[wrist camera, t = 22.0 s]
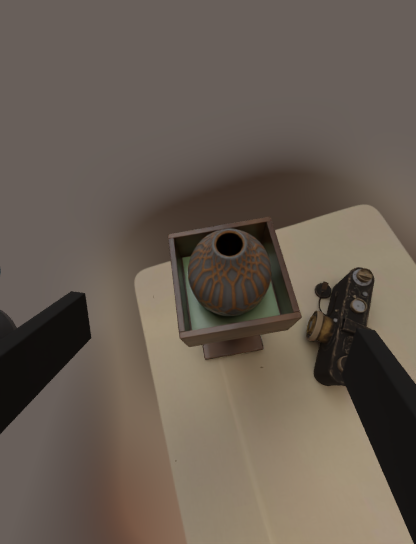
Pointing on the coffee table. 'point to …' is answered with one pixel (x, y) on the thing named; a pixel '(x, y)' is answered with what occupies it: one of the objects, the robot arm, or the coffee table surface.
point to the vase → (229, 272)
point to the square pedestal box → (241, 328)
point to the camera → (339, 323)
